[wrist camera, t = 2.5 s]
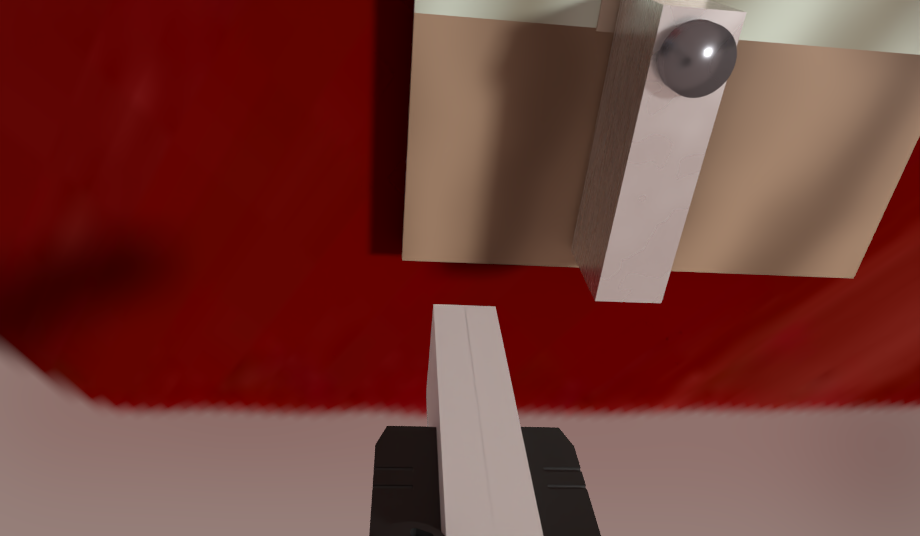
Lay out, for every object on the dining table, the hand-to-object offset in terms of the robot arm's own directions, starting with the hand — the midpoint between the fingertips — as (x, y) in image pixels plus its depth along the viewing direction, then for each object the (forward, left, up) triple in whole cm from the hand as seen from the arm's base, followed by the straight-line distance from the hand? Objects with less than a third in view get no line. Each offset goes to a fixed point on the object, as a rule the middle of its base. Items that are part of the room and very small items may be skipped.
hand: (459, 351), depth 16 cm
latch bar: (+7, +2, -11) cm, 14 cm away
